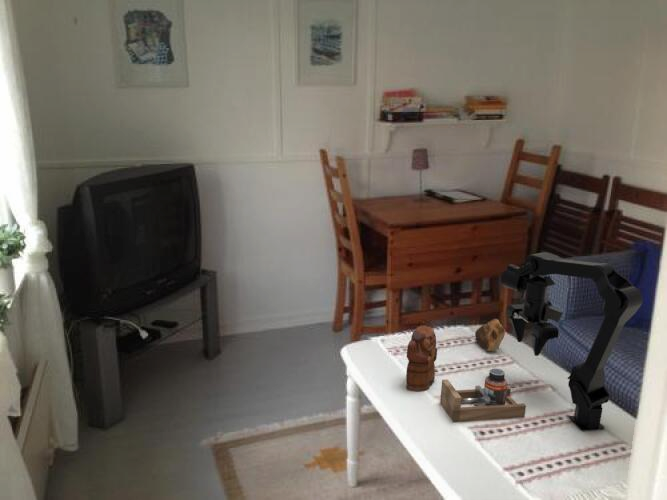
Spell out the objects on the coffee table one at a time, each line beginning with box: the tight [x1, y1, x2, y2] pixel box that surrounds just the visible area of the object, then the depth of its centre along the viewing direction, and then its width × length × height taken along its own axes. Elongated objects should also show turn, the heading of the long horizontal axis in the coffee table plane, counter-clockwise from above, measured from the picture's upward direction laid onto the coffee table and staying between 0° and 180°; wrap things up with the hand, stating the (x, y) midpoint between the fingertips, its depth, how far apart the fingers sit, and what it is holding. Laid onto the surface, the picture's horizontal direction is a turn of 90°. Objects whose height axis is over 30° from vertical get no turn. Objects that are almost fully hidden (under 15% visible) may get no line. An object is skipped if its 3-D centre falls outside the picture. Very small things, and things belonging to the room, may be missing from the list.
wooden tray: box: [439, 379, 527, 423], centre depth 161 cm, size 10×20×7 cm, turn 100°
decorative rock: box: [474, 318, 506, 352], centre depth 200 cm, size 12×6×11 cm, turn 14°
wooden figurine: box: [405, 325, 438, 392], centre depth 172 cm, size 12×6×18 cm, turn 149°
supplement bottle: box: [483, 368, 508, 406], centre depth 161 cm, size 6×6×11 cm
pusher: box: [462, 385, 490, 406], centre depth 160 cm, size 7×6×5 cm
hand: (527, 348), depth 170 cm, fingers open, 9 cm apart
